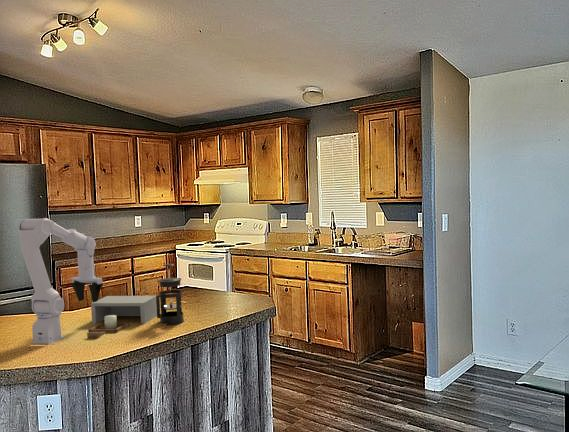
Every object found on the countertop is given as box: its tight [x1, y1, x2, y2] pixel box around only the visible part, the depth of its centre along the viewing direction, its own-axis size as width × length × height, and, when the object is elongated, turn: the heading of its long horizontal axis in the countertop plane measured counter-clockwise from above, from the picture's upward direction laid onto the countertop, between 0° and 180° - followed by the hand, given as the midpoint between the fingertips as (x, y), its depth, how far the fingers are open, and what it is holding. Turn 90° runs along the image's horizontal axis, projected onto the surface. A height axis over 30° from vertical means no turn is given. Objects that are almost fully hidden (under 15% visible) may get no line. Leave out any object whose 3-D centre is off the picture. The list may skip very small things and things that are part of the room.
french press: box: [155, 263, 185, 326], centre depth 203 cm, size 12×9×23 cm
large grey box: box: [90, 295, 157, 325], centre depth 209 cm, size 13×22×9 cm, turn 81°
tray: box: [86, 322, 130, 340], centre depth 192 cm, size 17×11×2 cm, turn 171°
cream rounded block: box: [103, 315, 118, 329], centre depth 197 cm, size 4×4×4 cm
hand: (88, 301), depth 204 cm, fingers open, 7 cm apart
